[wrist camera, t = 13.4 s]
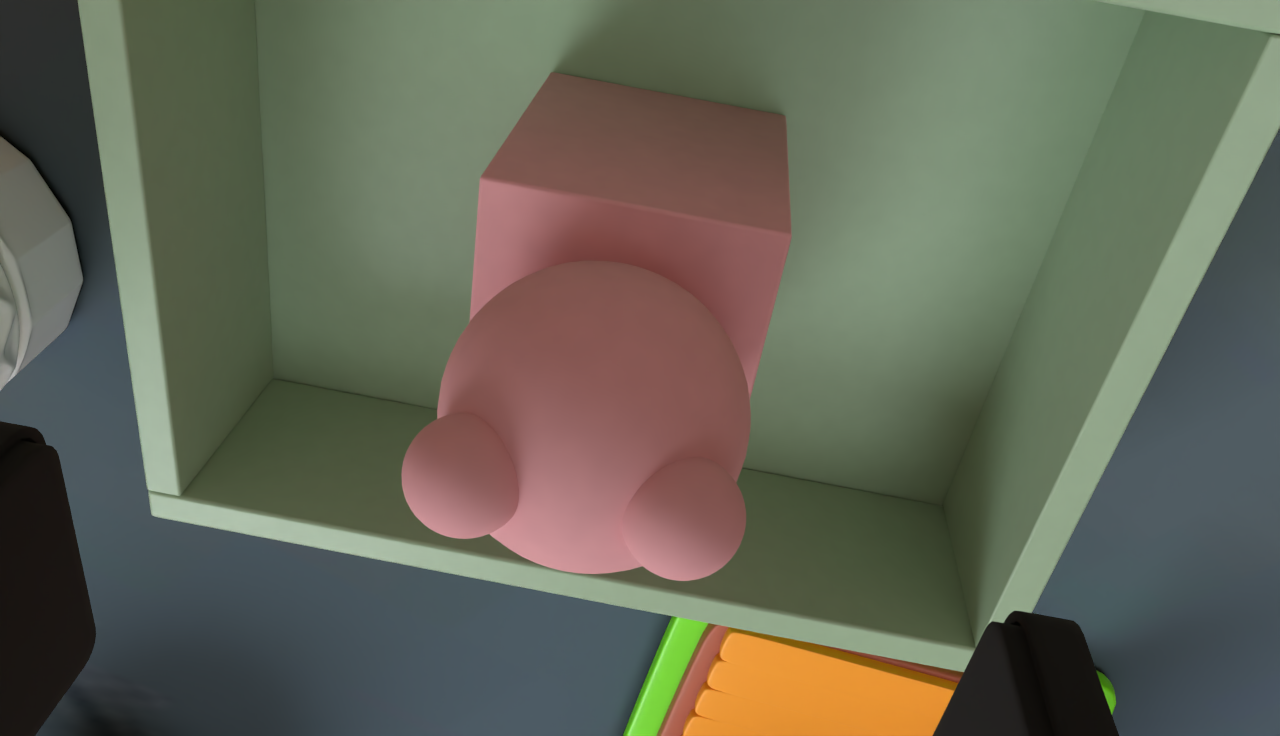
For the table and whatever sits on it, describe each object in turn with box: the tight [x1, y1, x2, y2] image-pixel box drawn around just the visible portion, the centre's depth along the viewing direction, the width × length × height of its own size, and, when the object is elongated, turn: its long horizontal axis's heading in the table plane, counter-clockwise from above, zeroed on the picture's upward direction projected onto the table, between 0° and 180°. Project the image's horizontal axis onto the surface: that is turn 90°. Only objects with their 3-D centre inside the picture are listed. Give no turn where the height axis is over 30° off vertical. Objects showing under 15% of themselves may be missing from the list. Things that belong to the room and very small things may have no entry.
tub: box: [78, 0, 1280, 672], centre depth 19 cm, size 13×17×5 cm
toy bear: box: [401, 72, 792, 581], centre depth 16 cm, size 5×5×10 cm
